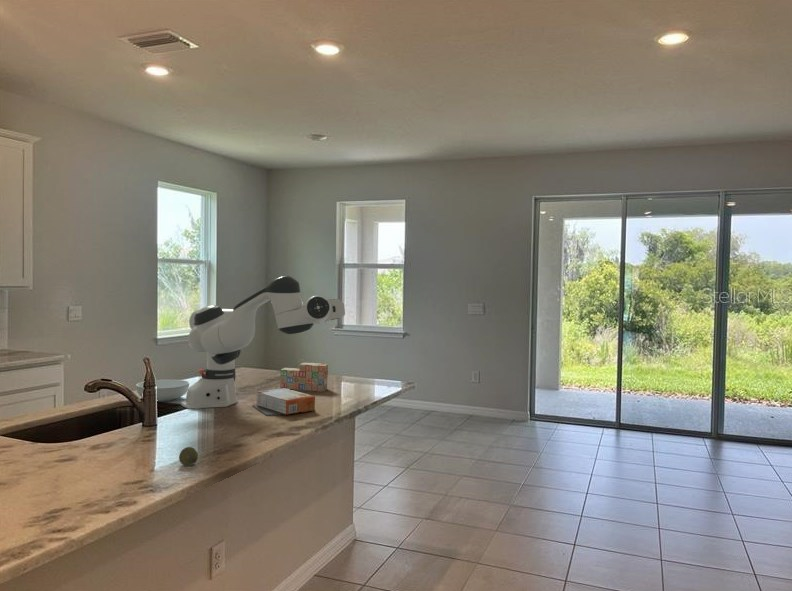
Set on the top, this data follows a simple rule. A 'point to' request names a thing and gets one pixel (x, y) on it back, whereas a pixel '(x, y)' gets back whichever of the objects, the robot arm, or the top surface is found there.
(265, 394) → the cracker box
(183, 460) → the lime
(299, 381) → the stack of blocks
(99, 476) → the top surface
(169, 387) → the serving bowl
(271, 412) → the mat
